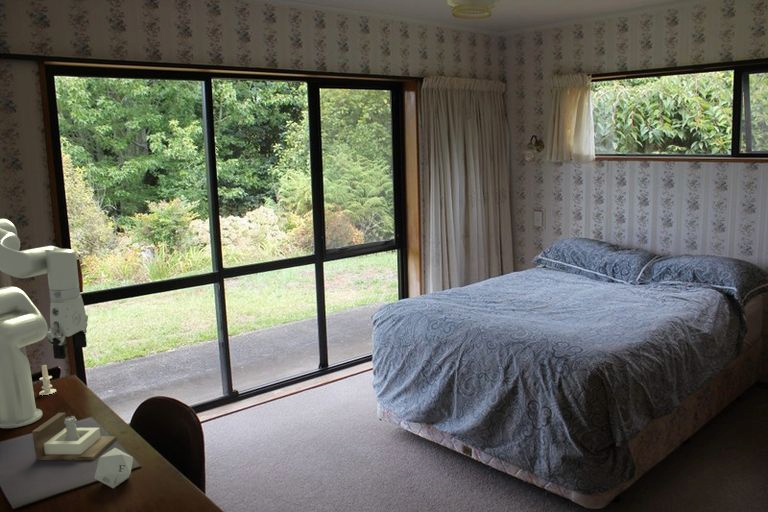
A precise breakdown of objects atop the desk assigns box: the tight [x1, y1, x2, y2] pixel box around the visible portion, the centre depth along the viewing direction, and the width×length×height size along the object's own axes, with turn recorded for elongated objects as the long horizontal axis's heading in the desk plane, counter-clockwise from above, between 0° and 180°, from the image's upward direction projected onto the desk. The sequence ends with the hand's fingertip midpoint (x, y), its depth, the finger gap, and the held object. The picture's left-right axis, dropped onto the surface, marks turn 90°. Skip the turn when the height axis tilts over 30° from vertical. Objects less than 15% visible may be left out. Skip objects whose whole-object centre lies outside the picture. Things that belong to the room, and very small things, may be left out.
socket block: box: [44, 427, 101, 454], centre depth 178 cm, size 10×10×3 cm
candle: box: [38, 364, 57, 397], centre depth 221 cm, size 5×5×10 cm
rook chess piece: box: [64, 415, 81, 441], centre depth 178 cm, size 4×4×8 cm
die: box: [94, 447, 134, 489], centre depth 159 cm, size 8×9×10 cm
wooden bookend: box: [31, 412, 118, 461], centre depth 178 cm, size 16×12×8 cm
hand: (71, 352), depth 186 cm, fingers open, 9 cm apart
